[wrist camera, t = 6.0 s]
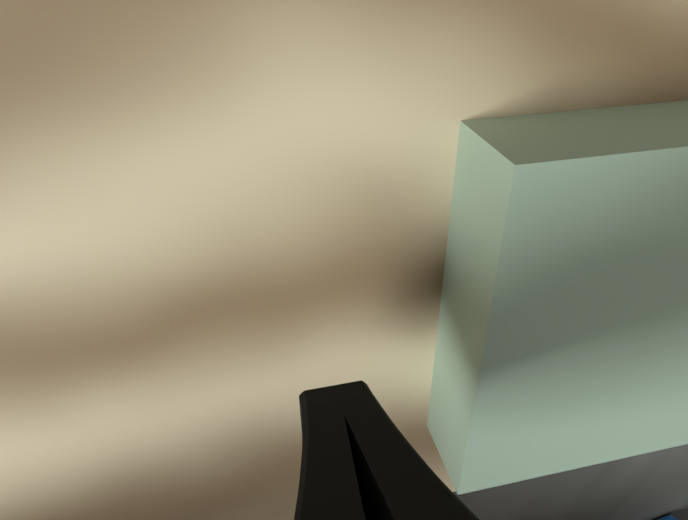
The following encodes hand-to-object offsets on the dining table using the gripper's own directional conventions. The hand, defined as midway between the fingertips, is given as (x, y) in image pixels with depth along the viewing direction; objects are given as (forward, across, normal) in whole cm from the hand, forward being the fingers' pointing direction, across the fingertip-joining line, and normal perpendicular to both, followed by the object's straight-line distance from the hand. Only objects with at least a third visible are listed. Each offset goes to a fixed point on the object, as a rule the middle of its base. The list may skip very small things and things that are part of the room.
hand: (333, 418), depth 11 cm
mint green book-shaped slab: (+3, -8, 0) cm, 8 cm away
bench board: (+4, -4, 0) cm, 5 cm away
